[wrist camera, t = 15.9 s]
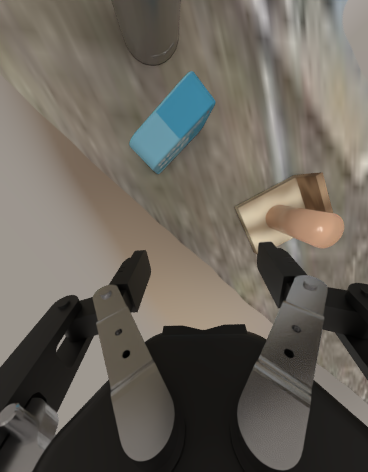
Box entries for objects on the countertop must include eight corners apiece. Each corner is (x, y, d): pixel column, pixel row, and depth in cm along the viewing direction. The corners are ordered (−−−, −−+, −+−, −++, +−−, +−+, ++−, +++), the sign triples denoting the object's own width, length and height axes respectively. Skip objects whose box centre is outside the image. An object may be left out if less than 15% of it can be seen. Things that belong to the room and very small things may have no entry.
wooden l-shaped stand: (234, 207, 37) (248, 211, 31) (294, 175, 36) (322, 172, 30) (254, 252, 41) (270, 265, 34) (309, 224, 40) (338, 231, 33)
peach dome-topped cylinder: (262, 212, 36) (304, 224, 24) (285, 200, 36) (339, 206, 24) (270, 233, 37) (314, 254, 26) (292, 221, 37) (347, 237, 26)
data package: (158, 175, 34) (152, 169, 23) (141, 157, 33) (125, 142, 22) (202, 128, 33) (219, 97, 21) (185, 108, 32) (194, 63, 20)
